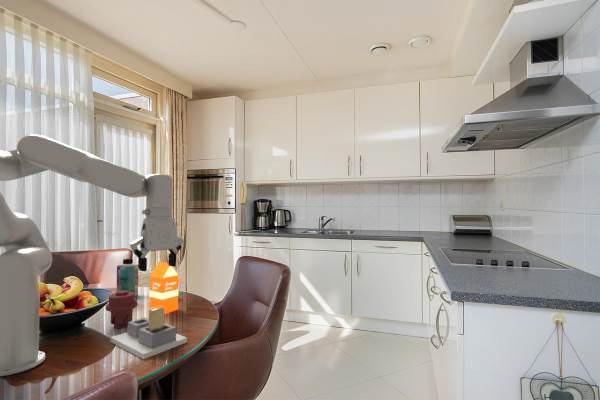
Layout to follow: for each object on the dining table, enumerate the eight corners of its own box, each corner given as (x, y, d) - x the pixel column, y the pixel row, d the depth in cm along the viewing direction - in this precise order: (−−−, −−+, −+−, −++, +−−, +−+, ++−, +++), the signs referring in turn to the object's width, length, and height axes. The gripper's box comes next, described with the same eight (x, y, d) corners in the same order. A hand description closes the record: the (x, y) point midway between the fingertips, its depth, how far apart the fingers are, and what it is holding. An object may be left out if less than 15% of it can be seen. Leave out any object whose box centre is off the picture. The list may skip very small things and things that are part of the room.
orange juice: (161, 314, 127) (162, 264, 127) (148, 310, 131) (149, 262, 132) (178, 309, 133) (179, 262, 134) (165, 306, 138) (166, 260, 139)
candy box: (138, 294, 157) (139, 263, 157) (134, 297, 152) (134, 265, 153) (120, 294, 156) (121, 263, 157) (115, 297, 152) (116, 265, 153)
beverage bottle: (120, 301, 145) (121, 258, 145) (136, 300, 147) (137, 257, 147) (116, 305, 138) (117, 260, 139) (133, 304, 140) (134, 259, 141)
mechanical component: (143, 321, 119) (123, 331, 109) (120, 320, 121) (98, 329, 111) (143, 289, 119) (123, 296, 109) (120, 287, 121) (99, 294, 111)
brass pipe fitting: (153, 345, 94) (153, 311, 95) (145, 342, 97) (145, 309, 97) (167, 340, 98) (167, 308, 98) (159, 337, 100) (159, 305, 101)
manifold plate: (143, 359, 89) (143, 339, 89) (110, 342, 100) (110, 324, 101) (186, 342, 100) (186, 324, 100) (152, 328, 112) (152, 312, 112)
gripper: (137, 214, 89) (136, 274, 89) (190, 213, 104) (189, 265, 103) (124, 213, 94) (123, 271, 93) (176, 213, 108) (175, 263, 107)
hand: (158, 268), depth 98 cm, fingers open, 9 cm apart
